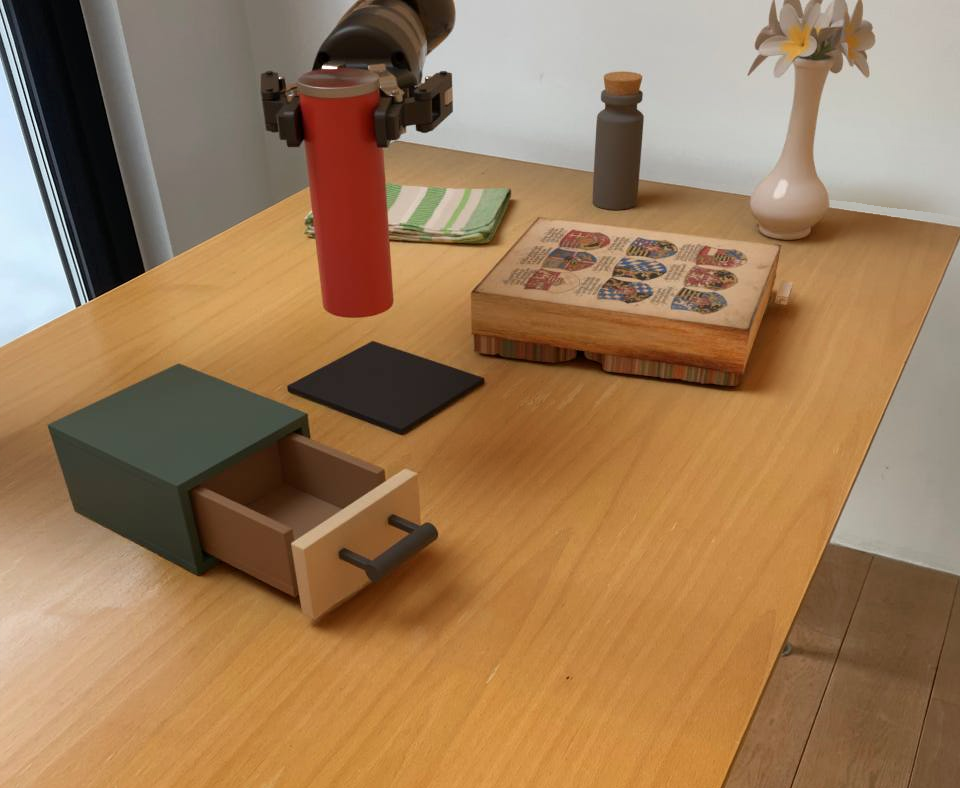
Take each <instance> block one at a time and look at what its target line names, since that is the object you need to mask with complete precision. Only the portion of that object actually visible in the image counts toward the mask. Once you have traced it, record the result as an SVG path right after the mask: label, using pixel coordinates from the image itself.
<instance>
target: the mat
mask: <svg viewBox="0 0 960 788" xmlns="http://www.w3.org/2000/svg"><path fill="white" fill-rule="evenodd" d="M484 384H485V377H483V376H480V375H477V374H475V373H471V372H469V371H465V370H462V369H459V368H456V367H453V366H450V365H446V364H444V363H440V362H437V361H435V360H432V359H429V358H426V357H423V356H419V355H416V354H414V353H410V352H408V351H405V350H402V349H398V348H396V347H392V346H389V345H386V344H385V343H380V342H377V341H374V340H370V341H369V342H368V343H365V344H364V345H361V346H360V347H358V348H356V349H354V350H352V351H350V352H349V353H347V354H345V355H343V356H341V357H339V358H337V359H335V360H333V361H331V362H330V363H328V364H326V365H324V366H322V367H320V368H318V369H316V370H315V371H312V372H311V373H308V374H307V375H305V376H302V377H301V378H299V379H297V380H295V381H293V382H291V383H290V384H288V385H286V389H287V392H288V393H291V394H293V395H296V396H299V397H301V398H304V399H306V400H309V401H312V402H315V403H317V404H319V405H322V406H325V407H328V408H330V409H333V410H335V411H338V412H340V413H344V414H346V415H348V416H351V417H354V418H357V419H359V420H362V421H364V422H367V423H370V424H372V425H375V426H377V427H379V428H383V429H385V430H388V431H391V432H393V433H396V434H399V435H402V436H403V435H404V434H406V433H407V432H409V431H411V430H412V429H414V428H415V427H418V426H419V425H420V424H421V423H424V422H425V421H427V420H428V419H430V418H431V417H433V416H435V415H436V414H438V413H439V412H441V411H443V410H444V409H446V408H448V407H449V406H451V405H452V404H454V403H455V402H457V401H459V400H460V399H461V398H464V397H466V395H469V394H470V393H472V392H473V391H475V390H476V389H478V388H479V387H481V386H483V385H484Z"/></svg>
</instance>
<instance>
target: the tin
mask: <svg viewBox="0 0 960 788" xmlns="http://www.w3.org/2000/svg"><path fill="white" fill-rule="evenodd" d="M308 72H309V73H308ZM308 72H305V73H306V74H305V73H303V74H301V75H299V76H298V77H297V78H296V83H297V89H298V91H299V100H300V108H301V117H302V126H303V135H304V140H303V142H304V152H305V161H306V169H307V178H308V179H307V180H308V186H309V188H308V189H309V193H310V195H309V196H310V204H311V210H312V214H313V223H314V232H315V238H314V239H315V246H316V247H315V250H316V256H317V257H316V258H317V264H318V265H317V266H318V275H319V276H318V277H319V284H320V291H321V292H320V293H321V302H322V307H323V309H324V310H325V312H327V313H329V314H331V315H332V316H336V317H340V318H345V319H346V318H348V319H360V318H368V317H374V316H378V315H380V314H383V313H384V312H387V311H389V310H390V309H391V308H392V307H393V305H394V300H395V299H394V286H393V284H394V283H393V273H392V272H393V270H392V258H391V257H392V256H391V243H390V240H391V239H389V225H388V211H387V196H386V183H387V182H386V181H387V180H386V168H385V167H386V166H385V154H384V148H377V144H376V131H375V110H376V108H377V106H378V104H379V102H380V93H379V87H380V81H379V75H378V74H376V73H374V72H372V71H368V70H362V69H351V68H337V69H325V70H318V71H313V72H311V71H308Z"/></svg>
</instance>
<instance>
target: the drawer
mask: <svg viewBox="0 0 960 788" xmlns="http://www.w3.org/2000/svg"><path fill="white" fill-rule="evenodd" d="M419 486H420V485H419V474H418V473H417V472H416V471H414V470H410V469H408V468H404V469H402V470H400V471H399V472H397V473H396V474H395V475H393V476H391V477H390V478H388V479H387V480H386V469H385V468H384V467H380V466H379V465H376V464H373V463H371V462H368V461H366V460H363V459H361V458H358V457H356V456H354V455H351V454H348V453H346V452H344V451H341V450H338V449H337V448H334V447H331V446H328V445H326V444H325V443H321V442H320V441H317V440H314V439H312V438H311V439H309V438H307V437H304V436H302V435H299V434H297V433H294V432H291V433H290V434H288V435H286V436H284V437H282V438H281V439H279V440H277V441H275V442H274V443H272V444H270V445H268V446H267V447H265V448H263V449H261V450H260V451H258V452H256V453H254V454H252V455H251V456H249V457H247V458H245V459H244V460H242V461H240V462H238V463H237V464H235V465H233V466H231V467H229V468H228V469H226V470H224V471H222V472H221V473H219V474H217V475H215V476H214V477H212V478H210V479H208V480H207V481H205V482H203V483H201V484H199V485H198V486H196V487H194V488H192V489H191V490H189V491H188V494H189V498H190V502H191V507H192V511H193V516H194V520H195V524H196V529H197V533H198V537H199V542H200V546H201V550H202V551H204V552H206V553H208V554H210V555H212V556H214V557H216V558H218V559H220V560H222V561H221V562H223V563H226V564H228V565H230V566H232V567H234V568H236V569H238V570H240V571H242V572H244V573H245V574H248V575H250V576H252V577H253V578H256V579H258V580H260V581H261V582H264V583H266V584H267V585H269V586H271V587H273V588H276V590H280V591H281V592H283V593H285V594H287V595H289V596H291V597H292V598H296V597H297V596H299V601H300V607H301V608H300V609H301V613H302V614H303V615H305V616H307V617H308V618H311V619H313V620H316V619H317V618H318V617H320V616H322V614H324V613H325V612H326V611H328V610H329V609H331V608H332V607H334V606H335V605H337V603H339V602H340V601H342V600H343V599H344V598H346V597H347V596H348V595H350V594H352V592H354V591H355V590H357V589H358V588H359V587H361V586H362V585H364V584H365V583H367V582H368V581H369V580H370V581H371V582H373V583H380V582H381V581H384V579H386V578H387V577H388V576H390V575H391V574H392V573H394V572H395V571H396V570H397V569H399V568H400V567H402V566H403V565H405V564H406V563H408V561H410V560H411V559H412V558H413V557H415V556H417V555H418V554H419V553H421V552H422V551H423V550H425V549H426V548H428V547H429V546H431V544H433V543H434V542H436V540H438V538H439V531H438V529H437V527H436V526H435V525H434V524H433V523H431V522H428V521H426V522H423V523H422V520H421V505H420V502H421V501H420V487H419Z"/></svg>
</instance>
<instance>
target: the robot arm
mask: <svg viewBox="0 0 960 788" xmlns="http://www.w3.org/2000/svg"><path fill="white" fill-rule="evenodd" d="M456 20H457V10H456V5H455V0H357V1H356V2H355V3H353V5H351V6H350V8H348V9H347V10H346V11H345V13H344V14H343V15H342V16H341V18H340V19H339V20H338V22H337V24H336V25H335V27H334V28H333V29H332V31H330V33H329V34H328V35H327V37H326V38H325V40H324V41H323V42H322V43H321V45H320V47H319V48H318V50H317V53H316V54H315V58H314V61H313V65H312V69H311V71H308V72H305V73H304V74H306V73H309V72H313V71H318V70H325V69H337V68H351V69H362V70H368V71H372V72H374V73H376V74H378V75H379V81H380V87H379V93H380V102H379V104H378V106H377V108H376V110H375V131H376V144H377V148H383V149H384V148H385V149H386V148H389V147H390V144H391V143H392V141H397V140H399V139H400V138H401V136H402V135H404V134H406V133H407V127H409V126H415V131H416V132H418V133H422V134H428V133H430V132H433V131H434V130H435V129H436V128H437V127H438V126H440V124H441V123H443V122H444V121H445V119H448V117H449V116H450V115H451V114H452V113H454V96H453V95H454V94H453V93H454V91H453V73H452V72H448V71H447V70H440V71H439V72H436V73H434V74H433V75H427V76H425V77H424V82H422V81H423V70H424V66H425V63H426V60H427V57H428V56H429V55H430V54H431V53H432V52H434V50H435V49H436V48H438V47H439V46H440V45H441V44H442V43H443V42H444V41H445V40H446V39H447V38H449V36H450V35H451V34H452V32H453V30H454V28H455V25H456ZM260 96H261V103H262V110H263V119H264V126H265V131H267V132H271V133H278V138H279V140H280V141H286V142H285V143H286V146H287V148H300V146H301V145H302V143H303V142H304V135H303V126H302V117H301V108H300V100H299V91H298V89H297V82H289V83H286V77H285V76H283V75H280V76H279V72H274V71H273V70H266V71H265V72H262V73H261V74H260Z"/></svg>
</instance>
